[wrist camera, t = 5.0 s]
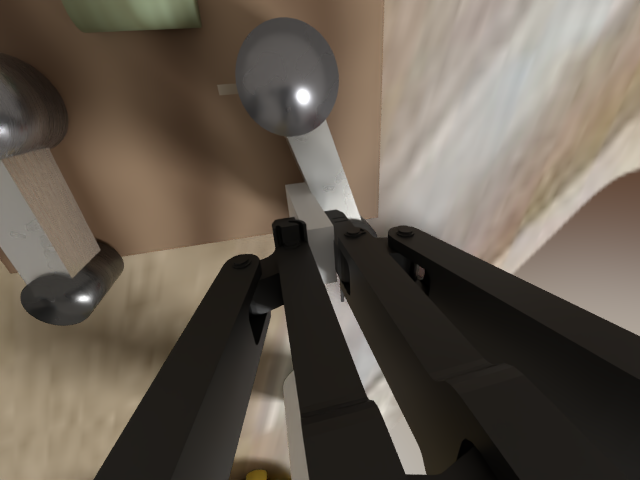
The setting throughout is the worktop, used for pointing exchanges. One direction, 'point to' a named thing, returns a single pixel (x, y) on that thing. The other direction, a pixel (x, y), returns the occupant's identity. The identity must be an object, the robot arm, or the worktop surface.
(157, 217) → the levelling board
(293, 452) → the cylindrical container
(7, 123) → the knob
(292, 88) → the knob
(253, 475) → the teapot
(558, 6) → the worktop surface
